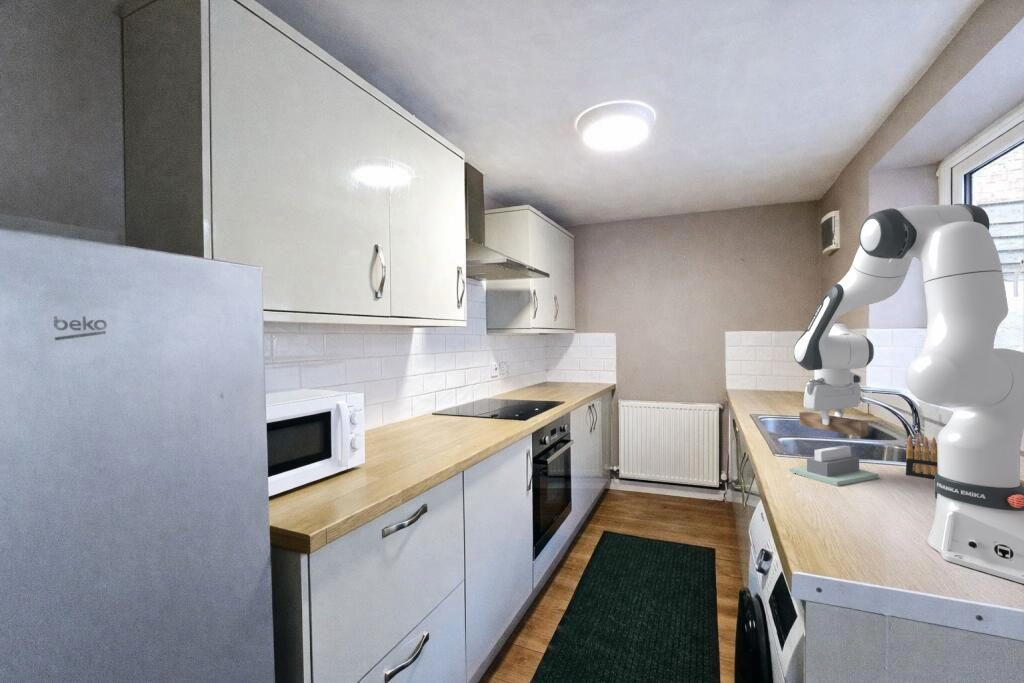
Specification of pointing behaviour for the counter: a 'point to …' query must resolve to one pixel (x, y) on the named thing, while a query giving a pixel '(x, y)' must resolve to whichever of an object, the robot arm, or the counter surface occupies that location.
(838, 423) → the walnut batten
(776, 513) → the counter surface
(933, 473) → the ammunition clip
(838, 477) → the ridge stand
